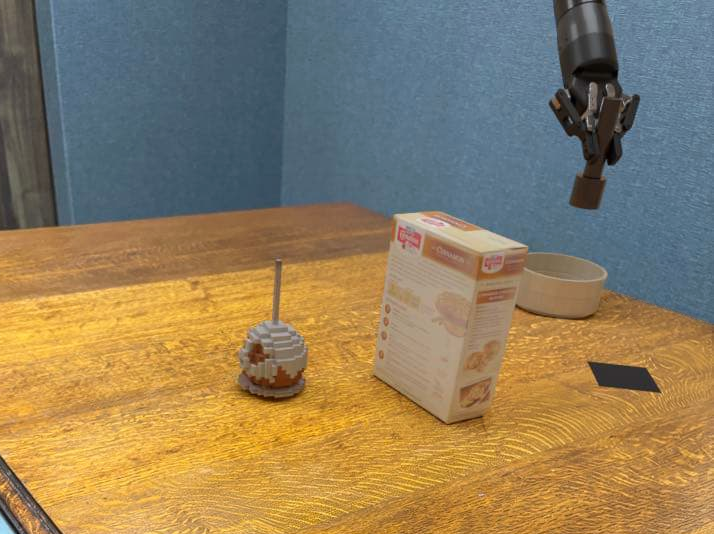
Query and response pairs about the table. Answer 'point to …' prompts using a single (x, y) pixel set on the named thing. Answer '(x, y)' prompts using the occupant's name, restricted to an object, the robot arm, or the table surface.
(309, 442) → the table surface
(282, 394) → the decorative ornament
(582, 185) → the pestle
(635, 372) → the coaster
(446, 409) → the coffeecake box
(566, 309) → the bowl
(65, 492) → the table surface
